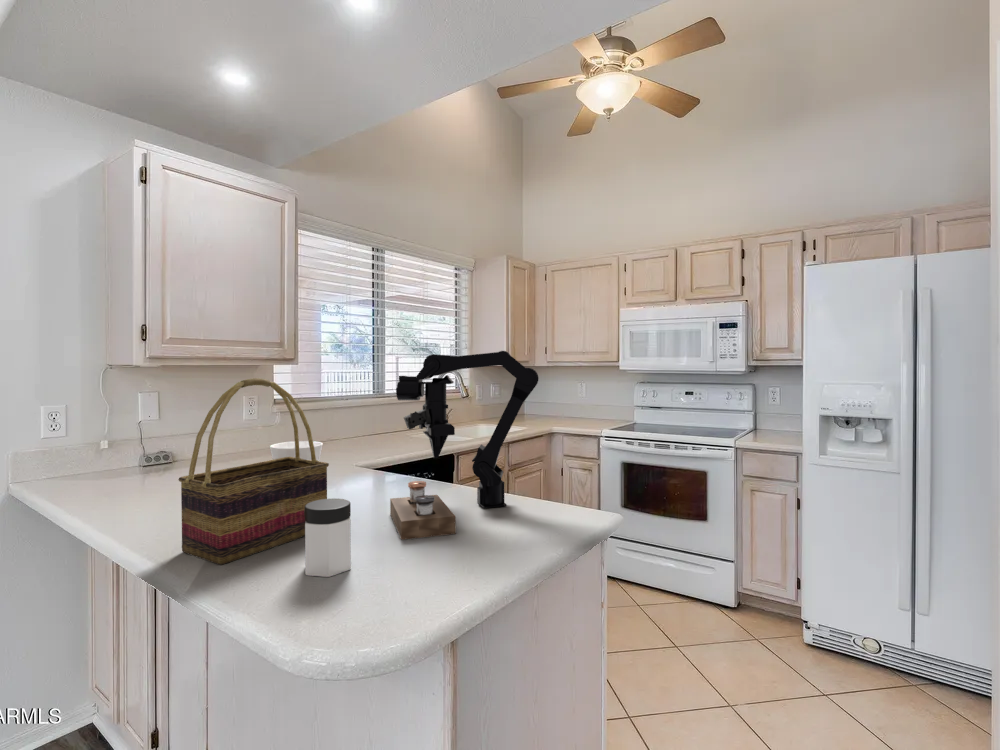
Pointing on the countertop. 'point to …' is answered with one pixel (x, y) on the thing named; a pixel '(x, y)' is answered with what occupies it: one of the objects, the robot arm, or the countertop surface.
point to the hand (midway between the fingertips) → (435, 457)
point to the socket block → (421, 519)
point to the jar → (327, 537)
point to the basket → (248, 495)
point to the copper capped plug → (416, 490)
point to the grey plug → (424, 505)
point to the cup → (289, 450)
